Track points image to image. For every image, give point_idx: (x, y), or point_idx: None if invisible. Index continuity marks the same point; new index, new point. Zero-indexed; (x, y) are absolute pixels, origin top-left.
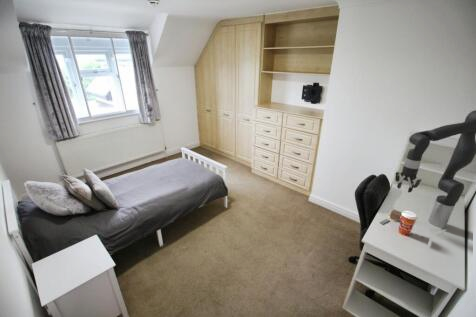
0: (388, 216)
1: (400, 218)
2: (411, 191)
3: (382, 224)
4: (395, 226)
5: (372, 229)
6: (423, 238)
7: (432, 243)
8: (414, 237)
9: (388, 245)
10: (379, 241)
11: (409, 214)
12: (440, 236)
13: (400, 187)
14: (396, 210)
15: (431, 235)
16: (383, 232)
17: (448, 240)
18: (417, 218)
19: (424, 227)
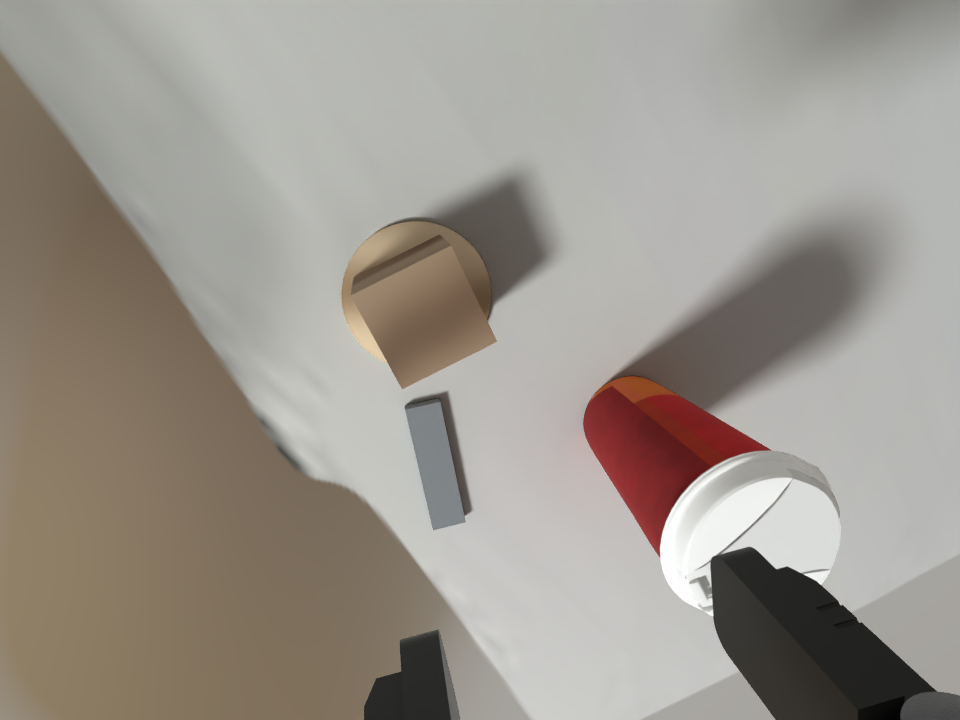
0: (365, 340)
1: (441, 228)
2: (801, 584)
3: (464, 518)
4: (529, 412)
5: (491, 649)
6: (751, 310)
7: (821, 297)
8: (708, 380)
9: (679, 659)
10: (623, 691)
11: None
12: (811, 96)
13: (441, 648)
14: (390, 282)
15: (762, 179)
16: (556, 589)
17: (876, 84)
18: (830, 489)
19: (656, 102)
